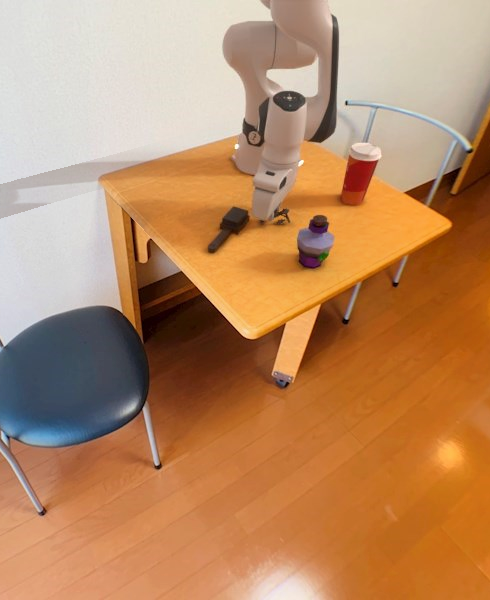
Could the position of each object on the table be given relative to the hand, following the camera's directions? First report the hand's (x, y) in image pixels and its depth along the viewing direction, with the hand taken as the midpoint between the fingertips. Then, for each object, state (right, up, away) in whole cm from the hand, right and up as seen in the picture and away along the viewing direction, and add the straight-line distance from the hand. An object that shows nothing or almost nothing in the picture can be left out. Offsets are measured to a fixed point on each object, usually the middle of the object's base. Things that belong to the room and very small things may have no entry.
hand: (272, 217), depth 111 cm
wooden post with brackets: (+1, -1, +2) cm, 2 cm away
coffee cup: (+24, +7, +10) cm, 27 cm away
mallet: (-12, -5, -2) cm, 13 cm away
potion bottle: (+7, -12, -10) cm, 17 cm away
